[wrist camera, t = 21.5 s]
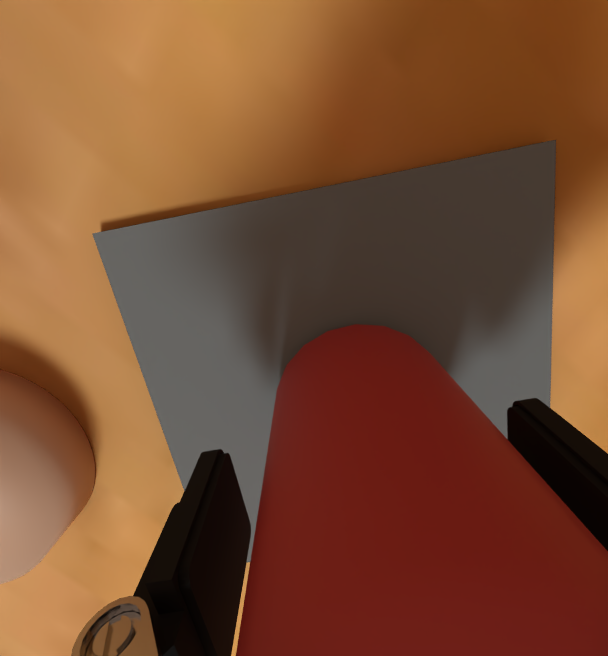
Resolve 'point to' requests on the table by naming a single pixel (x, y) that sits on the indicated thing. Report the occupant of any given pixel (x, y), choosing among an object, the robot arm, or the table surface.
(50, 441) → the pinkish beige domed disc
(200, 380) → the slate mat
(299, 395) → the beer can
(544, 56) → the table surface
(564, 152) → the table surface
